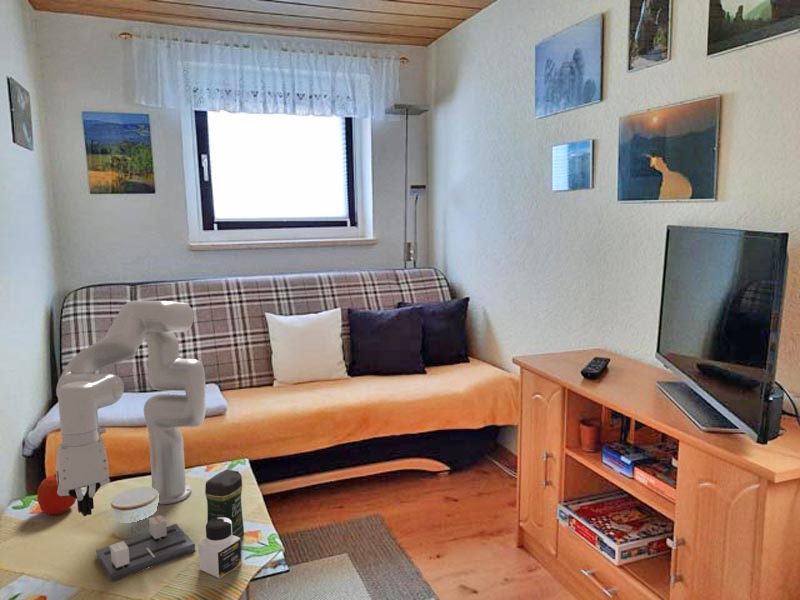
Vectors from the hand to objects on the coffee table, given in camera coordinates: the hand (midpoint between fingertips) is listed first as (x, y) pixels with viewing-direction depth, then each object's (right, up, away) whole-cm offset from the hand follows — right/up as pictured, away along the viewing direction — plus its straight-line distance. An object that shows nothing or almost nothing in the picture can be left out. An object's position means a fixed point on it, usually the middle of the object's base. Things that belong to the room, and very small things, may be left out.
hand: (86, 513), depth 138 cm
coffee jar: (+26, -15, +20) cm, 36 cm away
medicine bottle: (+28, -16, +8) cm, 34 cm away
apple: (-27, -12, +36) cm, 46 cm away
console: (+8, -15, +14) cm, 22 cm away
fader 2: (+9, -12, +19) cm, 24 cm away
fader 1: (+5, -14, +6) cm, 16 cm away
